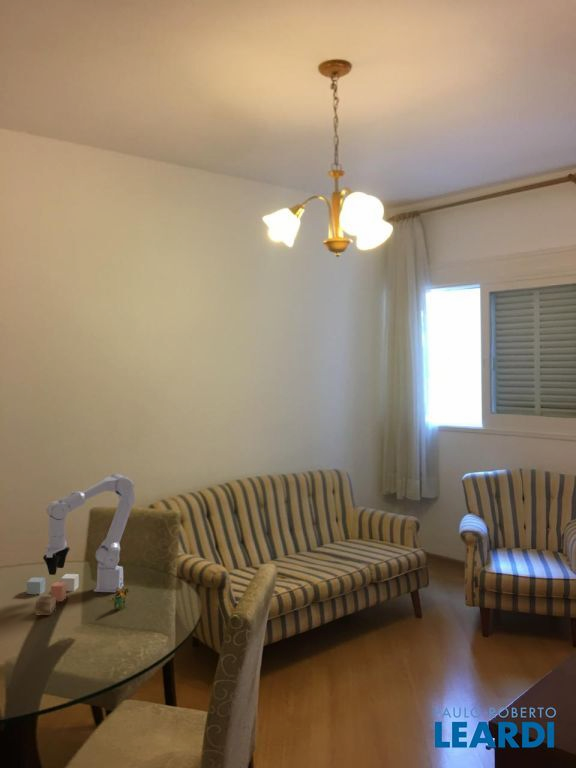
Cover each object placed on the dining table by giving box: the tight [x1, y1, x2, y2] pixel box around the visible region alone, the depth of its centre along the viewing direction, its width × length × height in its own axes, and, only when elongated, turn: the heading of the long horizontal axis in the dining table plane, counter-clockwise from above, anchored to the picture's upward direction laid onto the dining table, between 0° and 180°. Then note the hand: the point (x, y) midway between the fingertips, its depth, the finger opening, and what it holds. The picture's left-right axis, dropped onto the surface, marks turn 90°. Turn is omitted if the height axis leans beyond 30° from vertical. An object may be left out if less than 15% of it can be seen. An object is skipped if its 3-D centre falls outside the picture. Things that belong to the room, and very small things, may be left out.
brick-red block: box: [50, 581, 67, 602], centre depth 235 cm, size 4×4×6 cm
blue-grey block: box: [26, 577, 47, 595], centre depth 242 cm, size 5×5×5 cm
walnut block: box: [35, 595, 57, 615], centre depth 223 cm, size 5×5×5 cm
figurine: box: [107, 586, 130, 612], centre depth 228 cm, size 3×12×8 cm, turn 158°
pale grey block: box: [60, 573, 80, 592], centre depth 247 cm, size 5×5×5 cm
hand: (56, 571), depth 236 cm, fingers open, 7 cm apart
